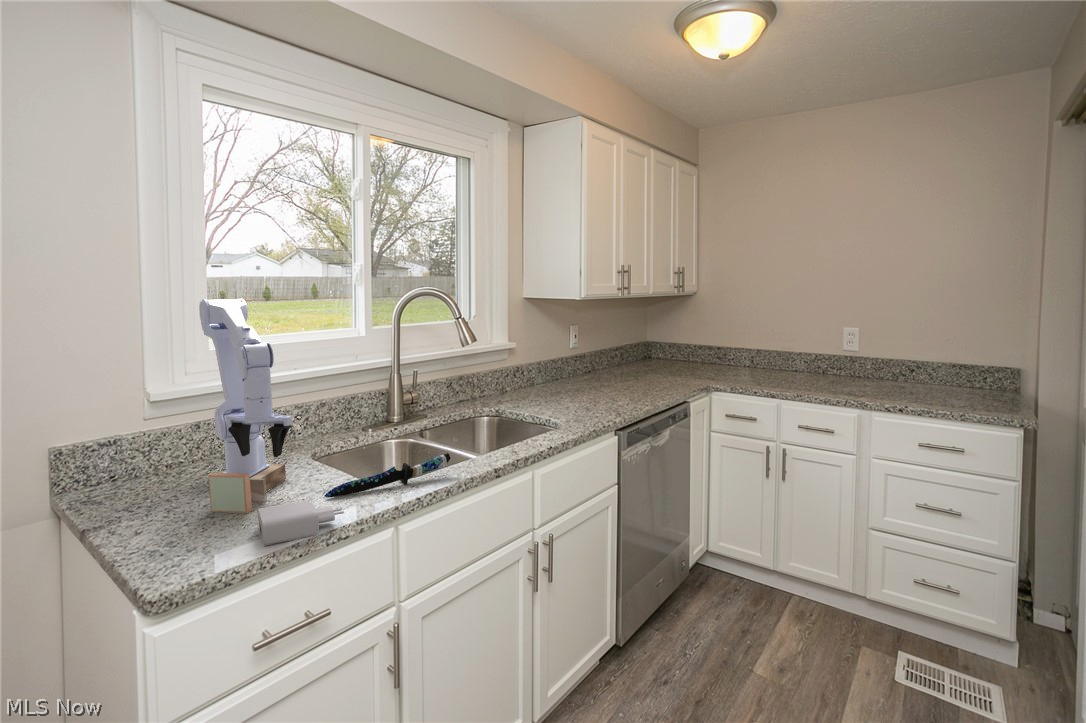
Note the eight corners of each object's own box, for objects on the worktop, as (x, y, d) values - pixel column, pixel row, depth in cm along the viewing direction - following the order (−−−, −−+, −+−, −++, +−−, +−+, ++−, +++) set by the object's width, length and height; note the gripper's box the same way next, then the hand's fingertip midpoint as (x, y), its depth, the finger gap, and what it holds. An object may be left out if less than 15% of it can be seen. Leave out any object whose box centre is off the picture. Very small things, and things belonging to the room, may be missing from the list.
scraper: (265, 479, 142) (264, 459, 141) (297, 480, 141) (295, 460, 140) (230, 500, 128) (228, 478, 127) (264, 501, 127) (263, 479, 127)
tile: (216, 508, 123) (213, 472, 122) (251, 510, 123) (249, 473, 121) (210, 511, 122) (207, 475, 120) (246, 513, 121) (244, 476, 120)
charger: (348, 530, 113) (263, 548, 106) (338, 514, 121) (258, 529, 113) (347, 507, 113) (262, 523, 105) (337, 492, 120) (257, 506, 113)
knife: (450, 468, 146) (448, 451, 146) (454, 471, 144) (452, 454, 143) (324, 503, 131) (320, 485, 131) (326, 508, 129) (323, 489, 128)
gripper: (215, 399, 128) (220, 459, 129) (278, 401, 126) (282, 461, 128) (235, 393, 135) (239, 450, 136) (295, 394, 133) (298, 452, 135)
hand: (261, 455), depth 133 cm, fingers open, 7 cm apart
